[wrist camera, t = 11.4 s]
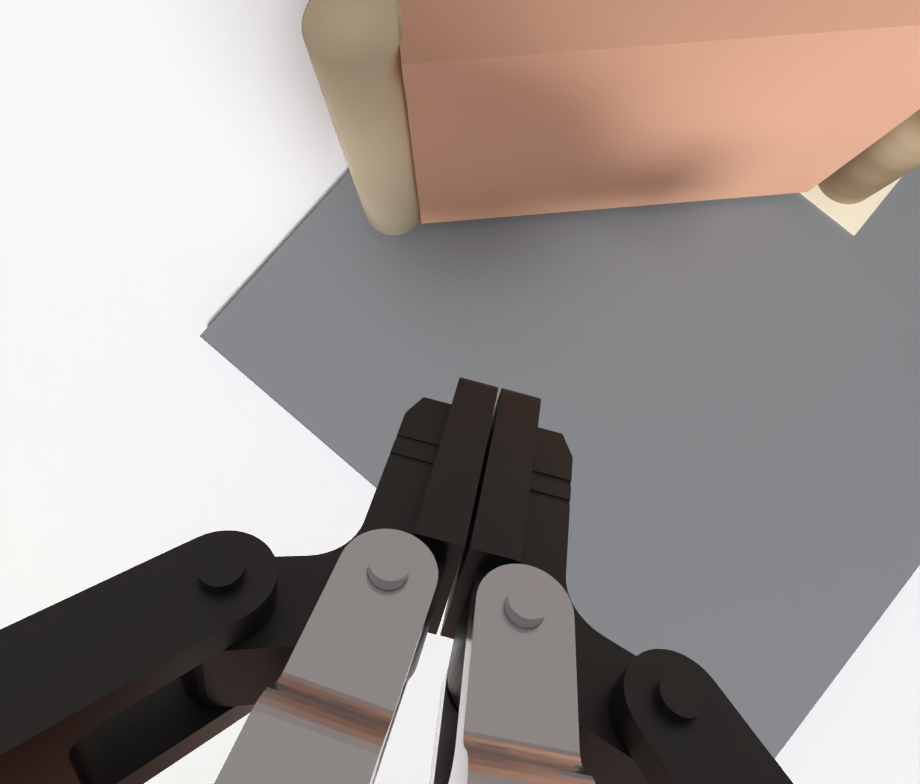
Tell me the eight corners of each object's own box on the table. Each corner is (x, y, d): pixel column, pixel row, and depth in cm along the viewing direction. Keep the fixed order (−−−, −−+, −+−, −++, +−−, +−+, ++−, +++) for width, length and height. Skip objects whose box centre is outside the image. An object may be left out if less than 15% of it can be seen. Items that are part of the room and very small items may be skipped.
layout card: (1251, 107, 21) (1270, 99, 21) (735, 795, 19) (742, 804, 19) (751, -267, 23) (758, -284, 22) (204, 338, 20) (198, 335, 20)
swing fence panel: (809, 201, 20) (1065, 18, 12) (366, 237, 20) (305, 77, 11) (800, 145, 20) (1046, -73, 12) (362, 181, 20) (298, -19, 12)
